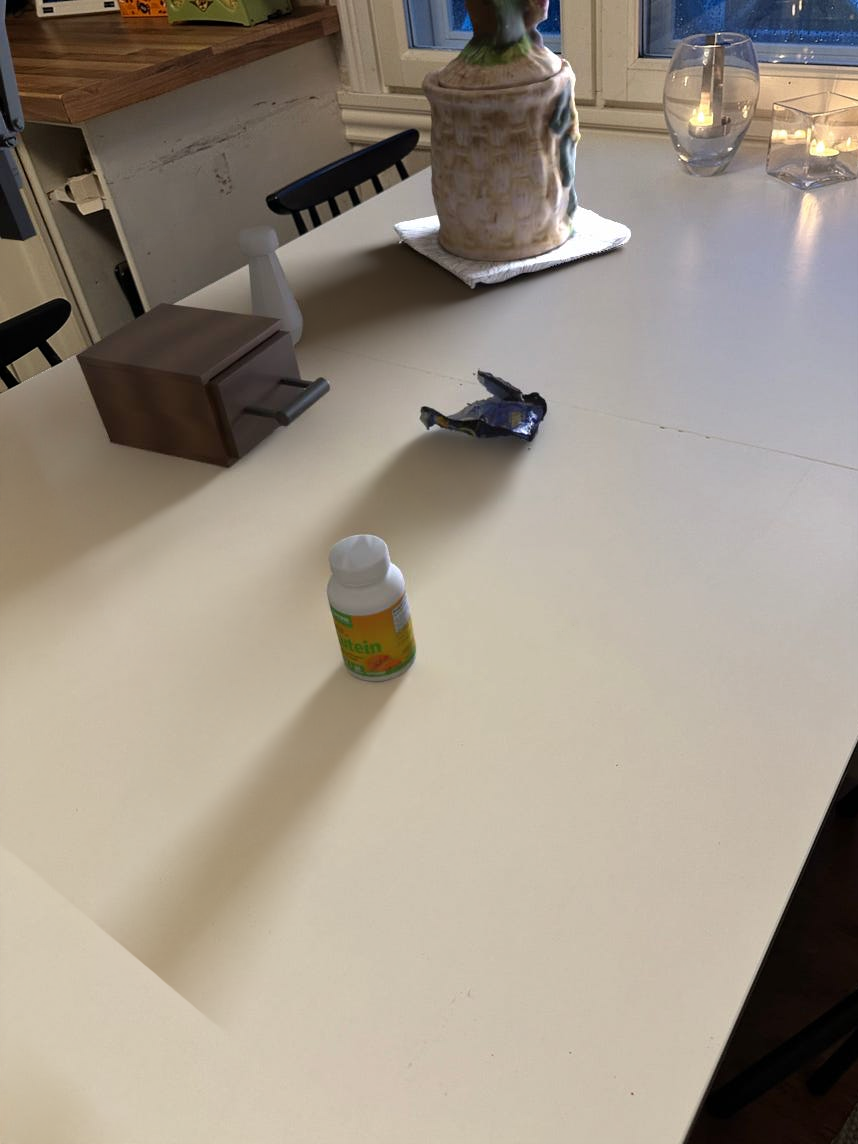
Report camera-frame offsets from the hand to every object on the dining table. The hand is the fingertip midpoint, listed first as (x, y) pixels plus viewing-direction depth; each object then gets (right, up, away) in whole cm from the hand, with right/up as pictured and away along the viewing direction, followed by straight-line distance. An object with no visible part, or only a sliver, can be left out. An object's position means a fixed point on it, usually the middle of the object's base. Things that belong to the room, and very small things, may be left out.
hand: (18, 236), depth 80 cm
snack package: (+39, -13, +13) cm, 44 cm away
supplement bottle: (+31, -35, -10) cm, 48 cm away
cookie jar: (+43, +20, +51) cm, 69 cm away
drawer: (+14, -12, +17) cm, 25 cm away
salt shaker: (+15, +1, +33) cm, 37 cm away
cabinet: (+10, -11, +20) cm, 25 cm away
